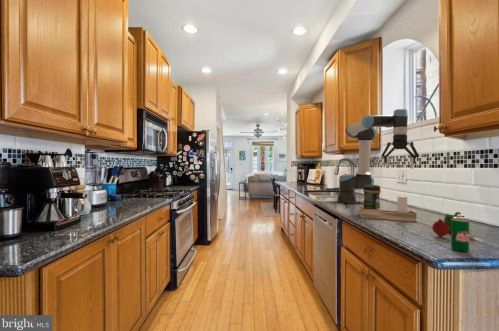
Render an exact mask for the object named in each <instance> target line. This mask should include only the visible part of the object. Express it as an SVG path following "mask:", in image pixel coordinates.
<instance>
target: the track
mask: <svg viewBox="0 0 499 331" xmlns="http://www.w3.org/2000/svg"><path fill="white" fill-rule="evenodd" d="M397 211H398V210H392V209H391V210H389V209H380V210H376V209H363V207H362V206H360V207H359V216H360V218H363V219H377V220H388V221H389V220H391V221H392V220H393V221H403V222H404V221H406V222H417V216H418V214H417V213H418V212H417V211H415V210H414V209H409V211H408V210H407V213H397Z"/></svg>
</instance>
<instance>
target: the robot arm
mask: <svg viewBox="0 0 499 331" xmlns="http://www.w3.org/2000/svg"><path fill="white" fill-rule="evenodd" d="M408 117H409V114H408V109H406V108H397V109H394V110H393V113H392V114H391V115H389V114H388V115H385V114H383V115H379V114H378V115H374V114H367V115H363V117H362V119H361V120H359V121H357V122H355V123H350V124H348V125H347V126H346V128H345V134H346V135H347V137H349V138H351V139H357V142H358V144H359V146H358V163H357V164H358V165H357V170H358V171H357V172H356V173H355V174H354V173H346V174H345V173H344V174H341V175H340V176H339V180H338V181H339V182H338V191H339V192H338V195H337V198H336V202H337V203H341V204H342V203H343V204H357V198H356V194H355V190H357V191H358V190H359V191H360V190H362V191H363V188H364V185H375V184H374V183H375V179H374V176H373V175H372V173H371V172H370V168H371V167H370V166H371V165H370V164H371V149H372V148H371V146H372V145H371V144H372V142H373V141H374V139H375V138H376V137H377V128H385V129H386V128H387V129H388V128H393V129H392V134H393V136H392V142H391V141H389V142H387V143H386V147H385V149H384V150H383V152H382V154H381V157H382V158H384V159H383V161H384V164H385V169H389V158H388V157H389V156H390V155H391V154H392V153H393V152H394V151H395V150H405V151H406V152H407V153H408V155H409V156H411V157H410V169H413V170H414V164H416V159H417V158H419V157H420V154H419V153H418V151H417V149H416V147H415V145H414V142H413V141H410V142H408V120H409V118H408ZM391 146H393V147H392V148H391V149H390V150H389V148H390V147H391ZM408 146H409V147H410V149H411V150H410V149H409V147H408ZM388 150H389V151H388Z"/></svg>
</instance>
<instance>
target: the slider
mask: <svg viewBox="0 0 499 331" xmlns="http://www.w3.org/2000/svg"><path fill="white" fill-rule="evenodd" d="M396 211H397V213H407V211H408V196H404V195H403V196H402V195H398V196H397V210H396Z"/></svg>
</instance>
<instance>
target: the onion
mask: <svg viewBox="0 0 499 331" xmlns="http://www.w3.org/2000/svg"><path fill="white" fill-rule="evenodd" d="M432 231H433V233H434V234H436V236H438V237H439V238H442V237H445V236H447V235H448V234H449V233H450V232H449V227H448V225H447V224H446V223H445V222H444V220H443V219H442V218H438V220H437V221H435V222H433V224H432Z"/></svg>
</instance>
